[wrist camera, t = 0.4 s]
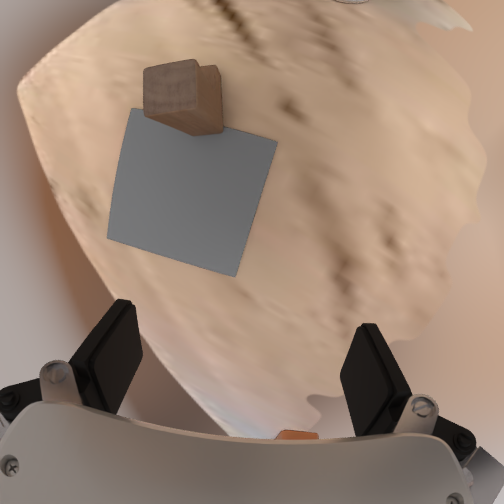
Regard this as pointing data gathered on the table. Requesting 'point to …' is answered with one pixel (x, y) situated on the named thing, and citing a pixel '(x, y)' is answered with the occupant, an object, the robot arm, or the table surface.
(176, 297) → the table surface
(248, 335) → the table surface
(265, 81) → the table surface
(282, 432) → the whiskey bottle
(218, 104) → the wooden block
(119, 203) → the mat
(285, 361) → the table surface
